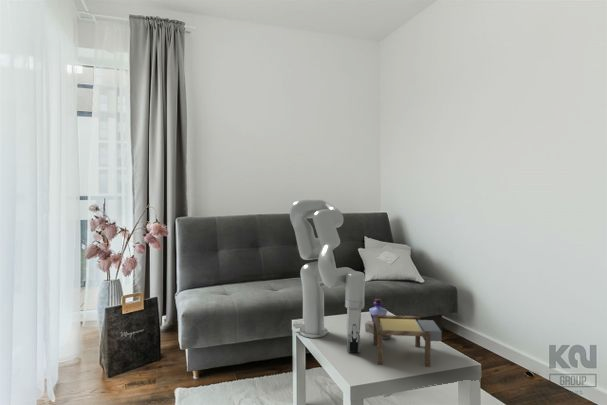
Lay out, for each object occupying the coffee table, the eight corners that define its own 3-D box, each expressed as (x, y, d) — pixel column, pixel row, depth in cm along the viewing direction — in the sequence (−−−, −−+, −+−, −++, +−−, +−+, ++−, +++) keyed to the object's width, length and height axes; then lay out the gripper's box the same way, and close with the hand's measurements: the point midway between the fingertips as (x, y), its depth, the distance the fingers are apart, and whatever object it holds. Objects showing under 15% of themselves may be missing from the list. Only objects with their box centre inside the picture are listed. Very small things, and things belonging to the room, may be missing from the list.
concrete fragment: (376, 328, 169) (376, 315, 168) (392, 339, 155) (392, 325, 155) (362, 330, 166) (362, 317, 166) (378, 341, 153) (378, 327, 153)
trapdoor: (383, 340, 134) (383, 330, 134) (379, 326, 148) (379, 318, 148) (442, 342, 132) (442, 332, 132) (432, 328, 146) (432, 319, 146)
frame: (377, 364, 132) (377, 331, 132) (373, 343, 151) (373, 315, 150) (430, 366, 130) (430, 333, 130) (419, 345, 149) (419, 316, 149)
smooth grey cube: (347, 351, 142) (347, 338, 142) (347, 345, 147) (347, 333, 147) (360, 352, 141) (360, 339, 141) (359, 346, 146) (359, 334, 146)
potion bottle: (375, 328, 168) (374, 302, 168) (365, 322, 176) (365, 297, 176) (390, 325, 171) (390, 300, 171) (380, 320, 179) (380, 296, 179)
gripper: (344, 296, 152) (343, 338, 153) (345, 309, 135) (344, 357, 136) (362, 297, 151) (361, 339, 152) (365, 310, 134) (364, 358, 135)
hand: (353, 347), depth 144 cm, fingers closed on smooth grey cube, 5 cm apart
